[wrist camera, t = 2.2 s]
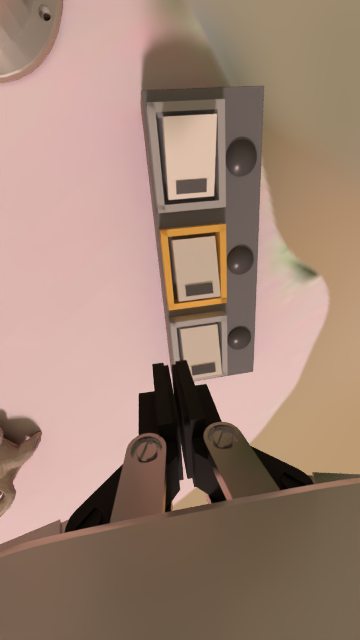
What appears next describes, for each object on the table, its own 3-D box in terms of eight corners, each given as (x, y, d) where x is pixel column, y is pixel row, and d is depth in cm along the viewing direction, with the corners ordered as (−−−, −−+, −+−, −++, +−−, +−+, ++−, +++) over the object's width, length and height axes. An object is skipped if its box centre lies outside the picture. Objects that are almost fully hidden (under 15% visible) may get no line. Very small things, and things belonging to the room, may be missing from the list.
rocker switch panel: (140, 104, 23) (141, 81, 19) (249, 99, 24) (272, 77, 20) (171, 370, 34) (175, 392, 30) (244, 358, 35) (258, 378, 31)
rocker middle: (171, 241, 24) (172, 240, 23) (212, 237, 25) (215, 235, 24) (178, 300, 25) (179, 301, 24) (217, 295, 26) (220, 296, 25)
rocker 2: (179, 327, 28) (180, 329, 27) (214, 322, 28) (217, 324, 27) (184, 376, 29) (186, 380, 28) (219, 370, 29) (222, 374, 28)
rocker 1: (161, 116, 19) (163, 116, 19) (213, 114, 20) (217, 113, 19) (167, 197, 23) (168, 200, 22) (211, 193, 23) (214, 196, 22)
